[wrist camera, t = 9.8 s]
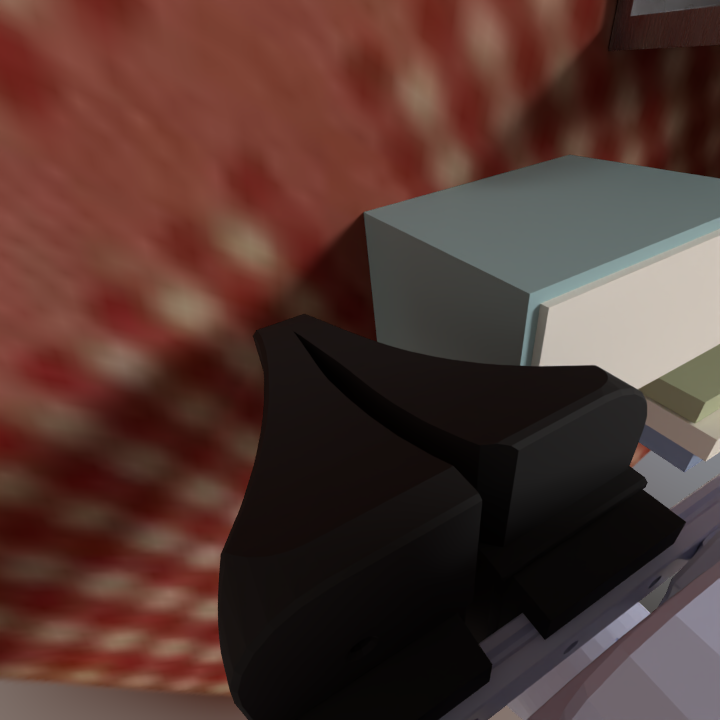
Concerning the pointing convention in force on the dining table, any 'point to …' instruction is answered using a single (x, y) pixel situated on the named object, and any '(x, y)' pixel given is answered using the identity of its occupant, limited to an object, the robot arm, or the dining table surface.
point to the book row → (685, 412)
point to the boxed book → (554, 268)
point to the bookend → (665, 24)
